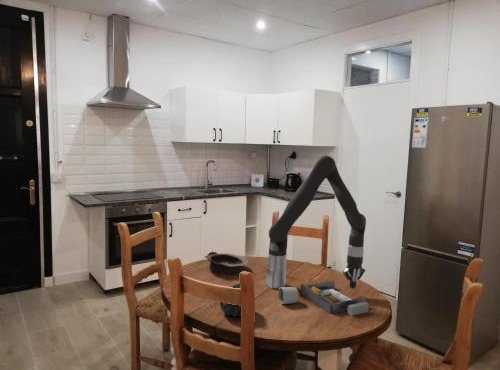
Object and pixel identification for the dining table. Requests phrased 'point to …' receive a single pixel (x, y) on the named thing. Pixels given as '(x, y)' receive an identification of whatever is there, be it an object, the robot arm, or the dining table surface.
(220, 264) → the stone bowl
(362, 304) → the panel
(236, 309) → the squash
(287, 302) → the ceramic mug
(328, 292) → the grey flat arch
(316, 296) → the rack bay
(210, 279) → the dining table surface
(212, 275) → the dining table surface
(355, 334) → the dining table surface
